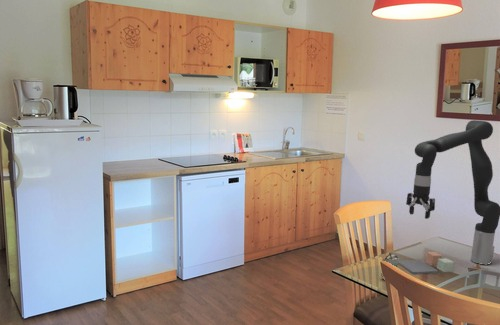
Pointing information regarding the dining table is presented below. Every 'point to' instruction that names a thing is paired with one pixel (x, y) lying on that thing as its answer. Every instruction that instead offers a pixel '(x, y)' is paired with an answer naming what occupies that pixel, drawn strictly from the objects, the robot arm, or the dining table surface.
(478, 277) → the dining table surface
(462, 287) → the dining table surface
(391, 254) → the food container
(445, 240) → the dining table surface
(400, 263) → the baseplate
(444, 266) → the sage brick
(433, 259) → the terracotta brick
